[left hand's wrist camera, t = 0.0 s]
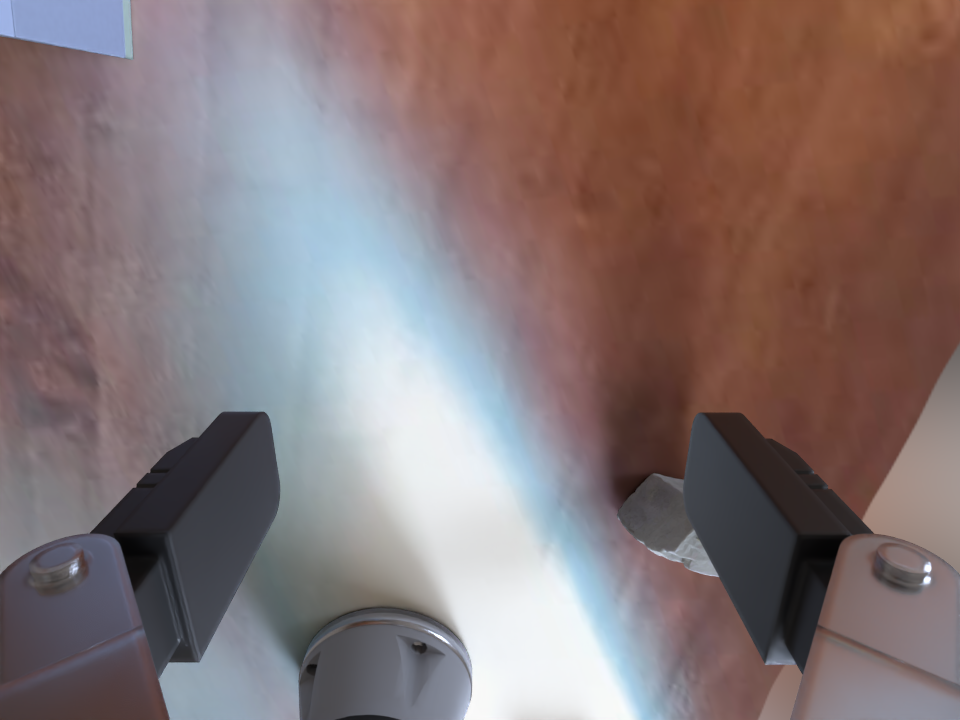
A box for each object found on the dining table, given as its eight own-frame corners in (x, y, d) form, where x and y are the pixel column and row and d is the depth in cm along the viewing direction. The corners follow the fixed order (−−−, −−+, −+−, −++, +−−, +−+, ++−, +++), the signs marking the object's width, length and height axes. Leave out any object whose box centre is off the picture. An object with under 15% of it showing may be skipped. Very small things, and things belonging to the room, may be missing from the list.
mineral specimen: (720, 543, 47) (739, 620, 40) (614, 514, 48) (613, 583, 41) (753, 468, 44) (779, 535, 37) (638, 438, 45) (642, 498, 38)
